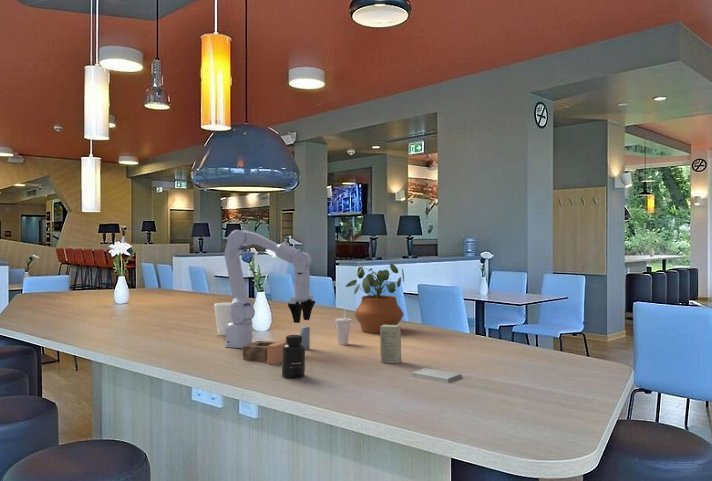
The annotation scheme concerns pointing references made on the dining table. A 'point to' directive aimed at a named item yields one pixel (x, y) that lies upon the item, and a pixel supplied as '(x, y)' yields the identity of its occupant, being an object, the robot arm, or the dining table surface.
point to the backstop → (275, 352)
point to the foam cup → (222, 317)
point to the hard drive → (436, 375)
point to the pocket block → (256, 351)
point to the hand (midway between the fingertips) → (301, 321)
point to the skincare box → (390, 343)
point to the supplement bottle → (293, 357)
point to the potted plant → (377, 301)
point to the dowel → (305, 337)
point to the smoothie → (343, 329)
